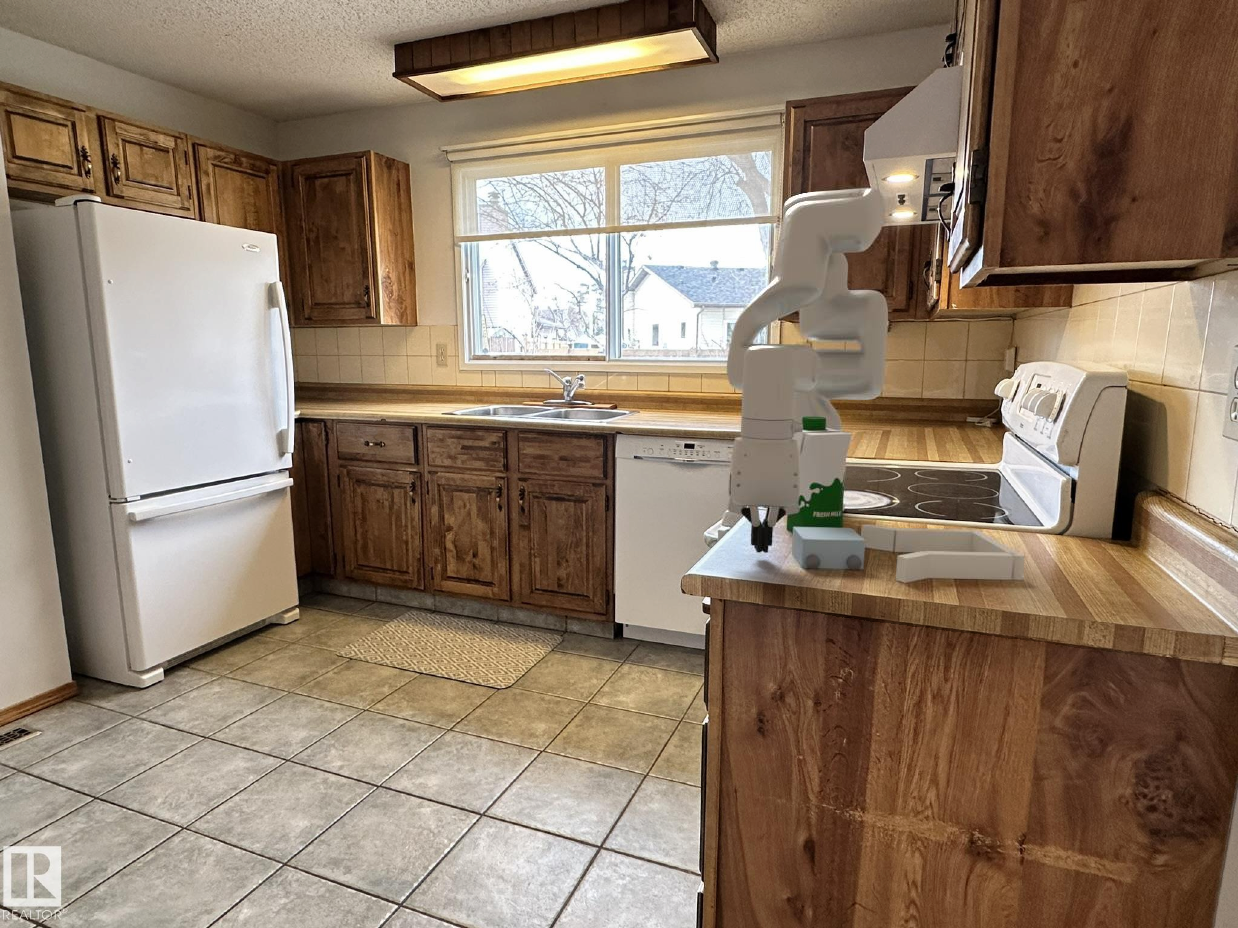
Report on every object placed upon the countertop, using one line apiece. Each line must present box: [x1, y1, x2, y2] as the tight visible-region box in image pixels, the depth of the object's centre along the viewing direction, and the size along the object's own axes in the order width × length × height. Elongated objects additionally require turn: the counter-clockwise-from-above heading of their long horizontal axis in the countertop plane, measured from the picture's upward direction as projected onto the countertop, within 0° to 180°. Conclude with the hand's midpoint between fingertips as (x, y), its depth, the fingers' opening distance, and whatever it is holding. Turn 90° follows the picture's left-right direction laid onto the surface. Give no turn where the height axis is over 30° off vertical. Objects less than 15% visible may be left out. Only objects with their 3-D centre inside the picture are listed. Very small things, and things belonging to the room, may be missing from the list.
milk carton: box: [785, 417, 853, 533], centre depth 119 cm, size 9×9×20 cm
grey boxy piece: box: [791, 527, 866, 571], centre depth 105 cm, size 8×9×4 cm
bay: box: [860, 523, 1025, 584], centre depth 105 cm, size 19×18×4 cm
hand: (761, 549), depth 105 cm, fingers closed
